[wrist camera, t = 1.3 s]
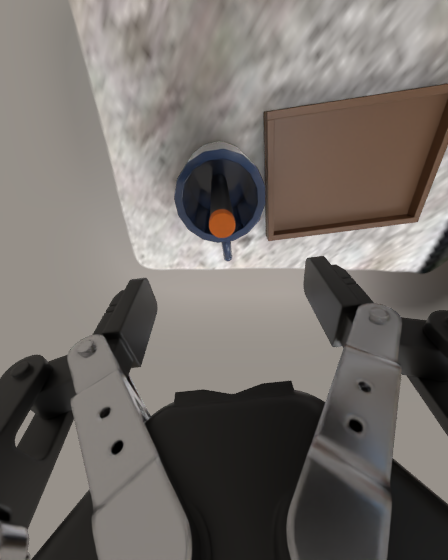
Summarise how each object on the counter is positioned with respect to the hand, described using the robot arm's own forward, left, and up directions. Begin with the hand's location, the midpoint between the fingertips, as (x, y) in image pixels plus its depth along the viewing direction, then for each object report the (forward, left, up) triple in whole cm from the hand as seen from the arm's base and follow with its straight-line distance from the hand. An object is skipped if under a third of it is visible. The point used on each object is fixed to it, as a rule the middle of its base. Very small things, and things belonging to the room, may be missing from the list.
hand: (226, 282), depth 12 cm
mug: (+2, 0, -23) cm, 23 cm away
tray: (+1, +17, -23) cm, 29 cm away
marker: (0, 0, -23) cm, 23 cm away
